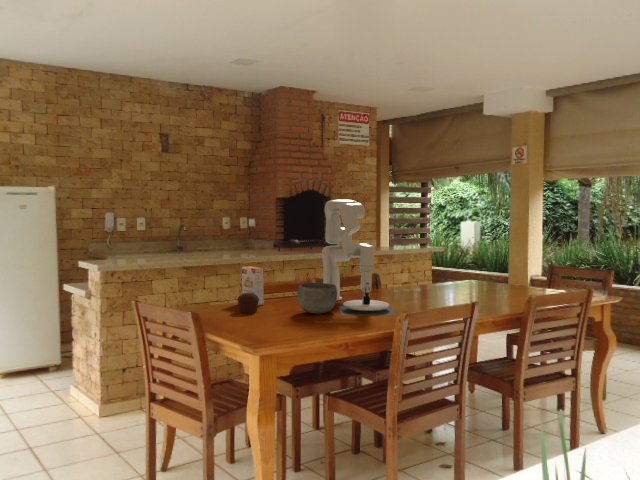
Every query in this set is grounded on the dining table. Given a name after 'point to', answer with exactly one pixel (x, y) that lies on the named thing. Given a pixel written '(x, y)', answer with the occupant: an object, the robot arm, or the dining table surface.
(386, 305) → the lid
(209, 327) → the dining table surface
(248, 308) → the muffin
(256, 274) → the cracker box
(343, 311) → the mat
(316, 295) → the bowl
